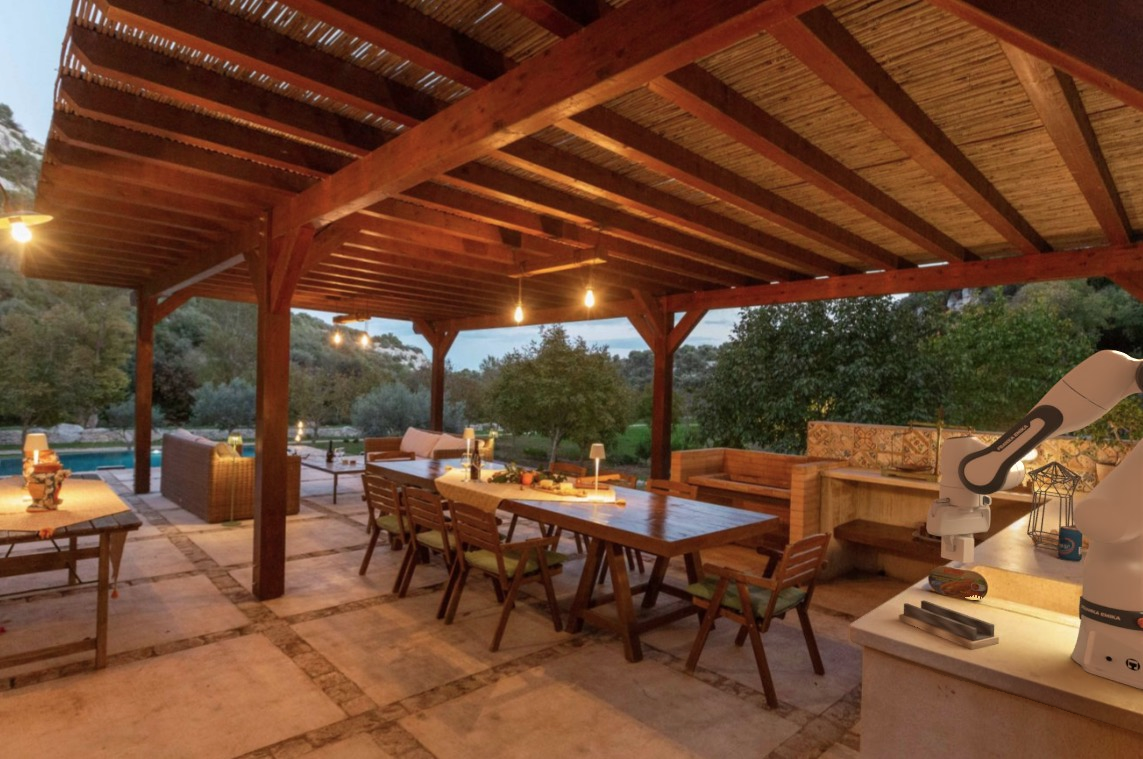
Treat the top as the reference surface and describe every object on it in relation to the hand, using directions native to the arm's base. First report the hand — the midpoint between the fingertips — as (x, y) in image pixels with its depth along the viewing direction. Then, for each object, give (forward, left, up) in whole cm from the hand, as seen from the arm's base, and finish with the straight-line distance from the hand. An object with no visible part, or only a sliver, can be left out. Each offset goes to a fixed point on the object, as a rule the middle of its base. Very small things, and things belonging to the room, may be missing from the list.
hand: (957, 550), depth 161 cm
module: (0, 0, -2) cm, 2 cm away
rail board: (-3, +8, -19) cm, 21 cm away
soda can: (+27, -109, -19) cm, 114 cm away
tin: (+14, -23, -19) cm, 33 cm away
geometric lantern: (+41, -124, -19) cm, 132 cm away
